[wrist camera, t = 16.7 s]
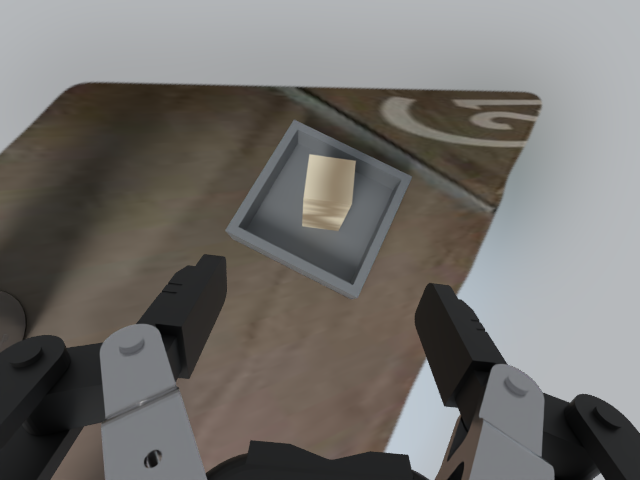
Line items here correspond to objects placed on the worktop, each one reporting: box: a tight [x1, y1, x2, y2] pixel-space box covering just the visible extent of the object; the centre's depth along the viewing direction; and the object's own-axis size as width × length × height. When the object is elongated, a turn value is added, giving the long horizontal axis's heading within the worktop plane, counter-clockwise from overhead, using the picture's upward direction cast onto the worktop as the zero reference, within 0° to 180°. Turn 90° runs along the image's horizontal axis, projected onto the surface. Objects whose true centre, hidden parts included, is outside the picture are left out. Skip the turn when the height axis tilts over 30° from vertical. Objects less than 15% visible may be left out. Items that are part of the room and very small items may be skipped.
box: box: [225, 120, 412, 299], centre depth 34 cm, size 16×16×4 cm
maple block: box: [302, 154, 356, 231], centre depth 31 cm, size 4×4×9 cm
